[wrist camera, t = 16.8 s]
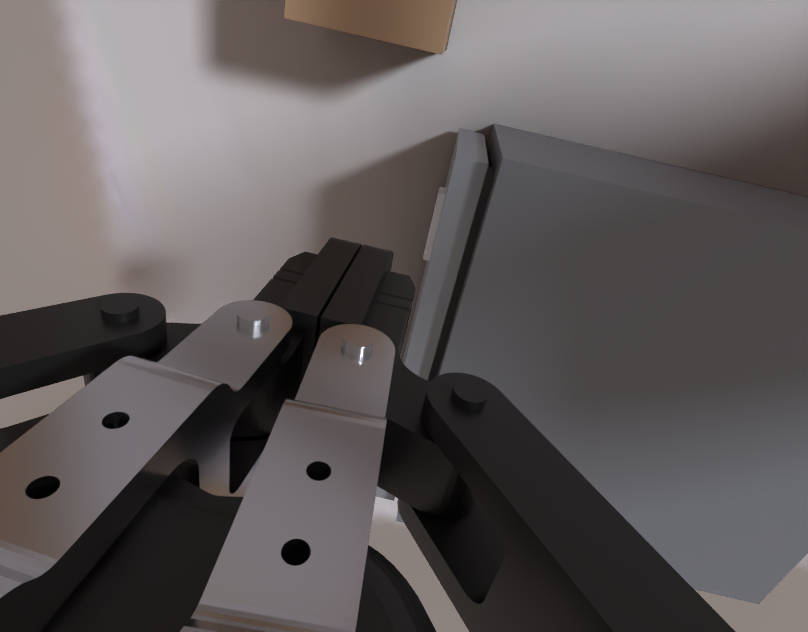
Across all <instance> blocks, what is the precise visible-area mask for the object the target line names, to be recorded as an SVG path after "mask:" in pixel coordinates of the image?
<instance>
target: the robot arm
mask: <svg viewBox="0 0 808 632" xmlns="http://www.w3.org/2000/svg"><path fill="white" fill-rule="evenodd" d="M392 259H393V252H392V251H388V250H384V249H379V248H375V247H371V246H367V245H363V246H362V245H361V244H358V243H353V242H349V241H345V240H340V239H336V238H332V237H331V238H330V239H329V241H328V242H327V243H326V245H325V246H324V247H323V249H322V250H321V251H320V253H319V254H318V255H317V254H313V253H308V252H303V253H301V254H299V255H296V256H294V257H291V258H289V259H288V260H287V262H286V263H285V264H284V265H283V266H282V267H281V268H280V271H278V272H277V273H276V274H275V275H274V277H273V279H271V280H270V281H269V282H268V284H267V285H266V286H265V287H264V288H263V289H262V290H261V292H260V293H259V294H258V295H257V296H256V297H255V299H254V300H249V301H238V302H234V303H230V304H228V305H225V306H223V307H221V308H220V309H219V310H217V311H216V312H215V313H214V314H213V315H212V316H210V317H209V318H208V319H207V320H206V321H205V322H204V323H202V324H187V323H166V311H165V307H164V306H163V304H162V303H160V302H159V301H158V300H156V299H154V298H152V297H149V296H146V295H142V294H135V293H115V294H108V295H103V296H98V297H93V298H88V299H82V300H77V301H73V302H68V303H62V304H57V305H52V306H47V307H42V308H37V309H32V310H27V311H22V312H17V313H11V314H7V315H2V316H0V399H2V398H5V397H9V396H12V395H16V394H19V393H23V392H26V391H30V390H33V389H37V388H40V387H44V386H47V385H51V384H54V383H58V382H61V381H65V380H68V379H72V378H76V377H79V376H82V375H83V376H84V382H85V387H84V388H82V389H81V390H80V391H78V392H77V393H76V394H74V395H73V396H72V397H71V398H69V399H68V400H67V401H66V402H64V403H63V404H62V405H60V406H59V407H58V408H57V409H55V410H54V411H53V412H51V414H47V415H44V416H41V417H38V418H35V419H31V420H28V421H25V422H22V423H19V424H15V425H12V426H9V427H6V428H1V429H0V632H436V630H435V628H434V626H433V624H432V622H431V621H430V619H429V617H428V615H427V613H426V611H425V609H424V607H423V605H422V603H421V601H420V600H419V598H418V596H417V595H416V593H415V592H414V590H413V589H412V587H411V586H410V585H409V583H408V582H407V580H406V579H405V578H404V577H403V575H402V574H401V573H400V572H399V571H398V570H397V569H396V568H395V566H394V565H393V564H392V563H391V562H389V561H388V560H387V559H386V558H385V557H384V556H383V555H381V554H380V553H379V552H378V551H376V550H375V549H373V548H372V547H370V546H369V545H368V543H369V536H370V529H371V523H372V516H373V510H374V503H375V496H376V489H377V486H378V487H380V488H381V489H383V490H385V491H386V492H388V493H390V494H392V495H393V496H395V497H397V498H398V510H399V514H400V516H401V518H402V520H403V521H404V523H405V525H406V526H407V528H408V530H409V531H410V533H411V535H412V536H413V538H414V540H415V541H416V543H417V544H418V546H419V548H420V550H421V551H422V553H423V555H424V556H425V558H426V560H427V561H428V563H429V565H430V566H431V568H432V570H433V571H434V573H435V575H436V576H437V578H438V580H439V581H440V583H441V585H442V586H443V588H444V590H445V591H446V593H447V595H448V596H449V598H450V600H451V601H452V603H453V605H454V606H455V608H456V610H457V611H458V613H459V615H460V617H461V618H462V620H463V621H464V623H465V625H466V627H467V628H468V630H469V632H735V631H734V630H733V629H732V628H731V627H730V626H729V625H728V624H727V623H726V622H725V621H724V620H723V619H722V618H721V616H719V614H718V613H717V612H716V611H715V610H714V609H712V607H711V606H710V605H709V604H707V602H706V601H705V600H704V599H703V598H702V597H701V596H700V595H699V594H698V593H697V592H696V591H695V590H694V589H693V588H692V587H691V586H690V585H689V584H688V583H687V582H686V581H685V580H684V579H683V578H682V577H681V576H680V575H679V573H678V572H677V571H676V570H675V569H674V568H673V567H672V566H671V565H670V564H669V563H668V562H667V561H666V560H665V559H664V558H663V557H662V556H661V555H660V554H659V553H658V552H657V551H656V550H655V549H654V548H653V547H652V546H651V545H650V544H649V543H648V542H647V541H646V540H645V539H644V538H643V537H642V536H641V535H640V534H639V533H638V532H637V531H636V529H635V528H634V527H633V526H632V525H631V524H630V523H629V522H628V521H627V520H626V519H625V518H624V517H623V516H622V515H621V514H620V513H619V512H618V511H617V510H616V509H615V508H614V507H613V506H612V505H611V504H610V503H609V502H608V501H607V500H606V499H605V498H604V497H603V496H602V495H601V494H600V493H599V492H598V491H597V490H596V489H595V488H594V486H593V485H592V484H591V483H590V482H589V481H588V480H587V479H586V478H585V477H584V476H583V475H582V474H581V473H580V472H579V471H578V470H577V469H576V468H575V467H574V466H573V465H572V464H571V463H570V462H569V461H568V460H567V459H566V458H565V457H564V456H563V455H562V454H561V453H560V452H559V451H558V450H557V449H556V448H555V447H554V446H553V445H552V443H551V442H550V441H549V440H548V439H547V438H546V437H545V436H544V435H543V434H542V433H541V432H540V431H539V430H538V429H537V428H536V427H535V426H534V425H533V424H532V423H531V422H530V421H529V420H528V419H527V418H526V417H525V416H524V415H523V414H522V413H521V412H520V411H519V410H518V409H517V408H516V407H515V406H514V405H513V404H512V403H511V402H510V400H509V399H508V398H507V397H506V396H505V395H504V394H503V393H502V392H501V391H500V390H499V389H497V388H496V387H495V386H494V385H492V384H491V383H490V382H488V381H486V380H484V379H482V378H480V377H477V376H474V375H471V374H466V373H458V372H454V373H445V374H442V375H439V376H437V377H435V378H434V379H433V380H432V381H431V382H429V381H427V380H425V379H423V378H421V377H419V376H418V375H416V374H414V373H413V372H412V371H410V370H409V369H408V368H407V367H406V366H405V365H404V363H403V362H402V360H401V359H400V353H401V349H402V345H403V342H404V337H405V333H406V328H407V324H408V319H409V315H410V310H411V306H412V301H413V297H414V292H415V286H414V284H413V282H412V280H411V278H410V276H407V275H402V274H398V273H394V272H390V270H391V265H392Z"/></svg>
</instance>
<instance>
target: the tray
mask: <svg viewBox="0 0 808 632" xmlns="http://www.w3.org/2000/svg"><path fill="white" fill-rule="evenodd" d="M493 182H494V176H493V170H492V167H490V166H488V157H487V150H486V143H485V136H484V134H481V133H476V132H472V131H468V130H463V129H459V130H458V134H457V138H456V143H455V147H454V151H453V155H452V159H451V163H450V167H449V171H448V175H447V179H446V184H445V188H444V187H439V191H438V196H437V200H436V204H435V208H434V212H433V217H432V221H431V225H430V229H429V233H428V238H427V242H426V246H425V250H424V255H423V260H427V261H426V266H425V270H424V274H423V278H422V282H421V286H420V290H419V294H418V298H417V303H416V307H415V311H414V315H413V319H412V323H411V327H410V331H409V335H408V339H407V344H406V348H405V352H404V356H403V360H402V362H403V363H404V365H405V366H406V367H407V368H408V369H409V370H410V371H412V372H413V373H414V374H416V375H418V376H419V377H421V378H423V379H425V380H427V381H429V382H431V381H432V380H433V379H434V378H435V377H437V374H438V371H439V367H440V364H441V361H442V357H443V354H444V350H445V347H446V343H447V340H448V337H449V333H450V330H451V326H452V323H453V319H454V316H455V313H456V309H457V306H458V302H459V299H460V295H461V292H462V289H463V285H464V282H465V278H466V275H467V271H468V268H469V264H470V261H471V258H472V254H473V251H474V247H475V244H476V240H477V237H478V234H479V230H480V227H481V223H482V220H483V216H484V213H485V210H486V206H487V203H488V199H489V196H490V192H491V189H492V186H493ZM376 497H381V498H385V499H389V500H394V498H395V496H393V495H392V494H390V493H388V492H386V491H385V490H383V489H381V488H380V487H378V486H377V489H376Z"/></svg>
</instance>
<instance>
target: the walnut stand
mask: <svg viewBox="0 0 808 632" xmlns="http://www.w3.org/2000/svg"><path fill="white" fill-rule="evenodd" d="M456 3H457V0H285V11H284V18H286V19H291V20H295V21H299V22H304V23H308V24H312V25H317V26H321V27H325V28H329V29H334V30H338V31H342V32H347V33H351V34H355V35H359V36H364V37H368V38H372V39H377V40H381V41H385V42H390V43H394V44H398V45H402V46H407V47H411V48H415V49H420V50H424V51H428V52H432V53H437V54H442V53H444V52H445V51H446V50H447V45H448V40H449V36H450V31H451V26H452V22H453V17H454V12H455V8H456Z"/></svg>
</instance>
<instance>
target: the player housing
mask: <svg viewBox="0 0 808 632" xmlns="http://www.w3.org/2000/svg"><path fill="white" fill-rule="evenodd" d="M487 157H488V166H490V167H492V170H493V176H494V182H493V186H492V189H491V192H490V196H489V199H488V203H487V206H486V210H485V213H484V216H483V220H482V223H481V227H480V230H479V234H478V237H477V240H476V244H475V247H474V251H473V254H472V258H471V261H470V264H469V268H468V271H467V275H466V278H465V282H464V285H463V289H462V292H461V295H460V299H459V302H458V306H457V309H456V313H455V316H454V319H453V323H452V326H451V330H450V333H449V337H448V340H447V343H446V347H445V350H444V354H443V357H442V361H441V364H440V367H439V371H438V374H437V376H439V375H442V374H445V373H454V372H458V373H466V374H471V375H474V376H477V377H480V378H482V379H484V380H486V381H488V382H490V383H491V384H492V385H494V386H495V387H496V388H497V389H499V390H500V391H501V392H502V393H503V394H504V395H505V396H506V397H507V398H508V399H509V400H510V402H511V403H512V404H513V405H514V406H515V407H516V408H517V409H518V410H519V411H520V412H521V413H522V414H523V415H524V416H525V417H526V418H527V419H528V420H529V421H530V422H531V423H532V424H533V425H534V426H535V427H536V428H537V429H538V430H539V431H540V432H541V433H542V434H543V435H544V436H545V437H546V438H547V439H548V440H549V441H550V442H551V443H552V445H553V446H554V447H555V448H556V449H557V450H558V451H559V452H560V453H561V454H562V455H563V456H564V457H565V458H566V459H567V460H568V461H569V462H570V463H571V464H572V465H573V466H574V467H575V468H576V469H577V470H578V471H579V472H580V473H581V474H582V475H583V476H584V477H585V478H586V479H587V480H588V481H589V482H590V483H591V484H592V485H593V486H594V488H595V489H596V490H597V491H598V492H599V493H600V494H601V495H602V496H603V497H604V498H605V499H606V500H607V501H608V502H609V503H610V504H611V505H612V506H613V507H614V508H615V509H616V510H617V511H618V512H619V513H620V514H621V515H622V516H623V517H624V518H625V519H626V520H627V521H628V522H629V523H630V524H631V525H632V526H633V527H634V528H635V529H636V531H637V532H638V533H639V534H640V535H641V536H642V537H643V538H644V539H645V540H646V541H647V542H648V543H649V544H650V545H651V546H652V547H653V548H654V549H655V550H656V551H657V552H658V553H659V554H660V555H661V556H662V557H663V558H664V559H665V560H666V561H667V562H668V563H669V564H670V565H671V566H672V567H673V568H674V569H675V570H676V571H677V572H678V573H679V575H680V576H681V577H682V578H683V579H684V580H685V581H686V582H687V583H688V584H689V585H690V586H691V587H692V588H693V589H695V590H699V591H704V592H708V593H713V594H717V595H721V596H726V597H730V598H734V599H739V600H743V601H748V602H752V603H756V604H759V603H760V602H761V601H762V600H763V599H764V598H765V597H766V596H767V595H768V594H769V593H770V592H771V591H772V590H773V589H774V588H775V586H776V585H777V584H778V583H779V582H780V581H781V580H782V579H783V578H784V577H785V576H786V575H787V574H788V573H789V572H790V571H791V570H792V569H793V568H794V567H795V566H796V565H797V564H798V563H799V562H800V561H801V560H802V559H803V557H804V556H805V555H806V554H807V553H808V197H806V196H801V195H797V194H793V193H788V192H784V191H780V190H776V189H771V188H767V187H763V186H758V185H754V184H750V183H745V182H741V181H737V180H733V179H728V178H724V177H720V176H715V175H711V174H707V173H702V172H698V171H694V170H690V169H685V168H681V167H677V166H672V165H668V164H664V163H659V162H655V161H651V160H647V159H642V158H638V157H634V156H629V155H625V154H621V153H616V152H612V151H608V150H604V149H599V148H595V147H591V146H586V145H582V144H578V143H573V142H569V141H565V140H561V139H556V138H552V137H548V136H543V135H539V134H535V133H530V132H526V131H522V130H518V129H513V128H509V127H505V126H500V125H496V124H494V126H493V130H492V133H491V137H490V140H489V144H488V148H487ZM396 521H400V522H404V521H403V520H402V518H401V516H400V514H399V510H398V513H397V520H396Z"/></svg>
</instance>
